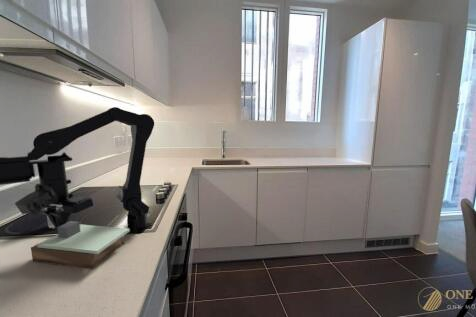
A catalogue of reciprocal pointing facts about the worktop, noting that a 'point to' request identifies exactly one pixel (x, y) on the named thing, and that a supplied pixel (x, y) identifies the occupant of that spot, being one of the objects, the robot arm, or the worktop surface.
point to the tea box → (73, 256)
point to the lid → (83, 238)
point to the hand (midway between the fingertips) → (60, 231)
